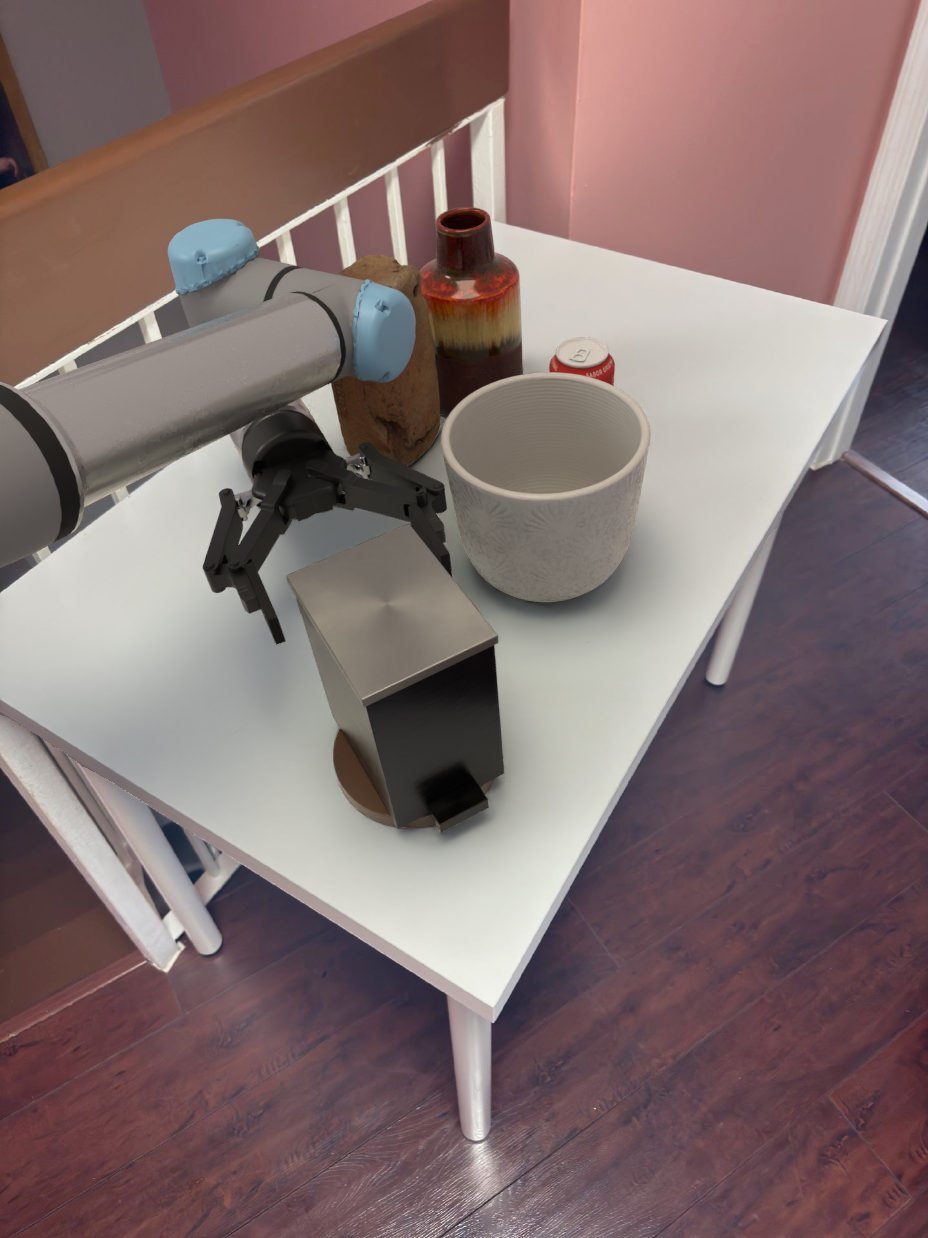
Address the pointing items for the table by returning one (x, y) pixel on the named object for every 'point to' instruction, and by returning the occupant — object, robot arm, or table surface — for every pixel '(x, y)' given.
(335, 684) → the bin
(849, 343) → the table surface
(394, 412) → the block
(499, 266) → the vase
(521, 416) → the planter
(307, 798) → the table surface
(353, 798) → the disc
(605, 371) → the beverage can
